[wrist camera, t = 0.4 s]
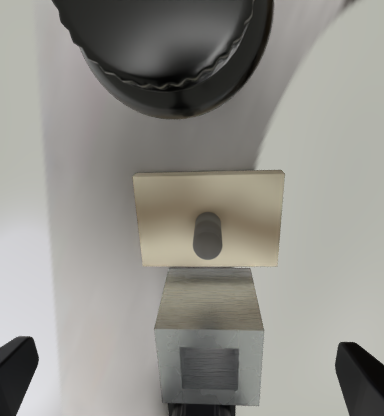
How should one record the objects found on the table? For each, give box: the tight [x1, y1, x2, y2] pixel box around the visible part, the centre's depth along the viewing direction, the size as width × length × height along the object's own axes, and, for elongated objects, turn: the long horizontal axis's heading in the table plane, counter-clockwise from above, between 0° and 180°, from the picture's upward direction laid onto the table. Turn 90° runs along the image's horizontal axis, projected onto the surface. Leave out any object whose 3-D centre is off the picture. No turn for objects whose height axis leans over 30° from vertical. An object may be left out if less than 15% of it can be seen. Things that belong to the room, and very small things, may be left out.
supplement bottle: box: [52, 0, 274, 119], centre depth 12 cm, size 7×7×12 cm
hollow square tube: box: [154, 268, 264, 406], centre depth 21 cm, size 6×6×6 cm
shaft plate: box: [132, 170, 285, 267], centre depth 19 cm, size 7×10×5 cm
